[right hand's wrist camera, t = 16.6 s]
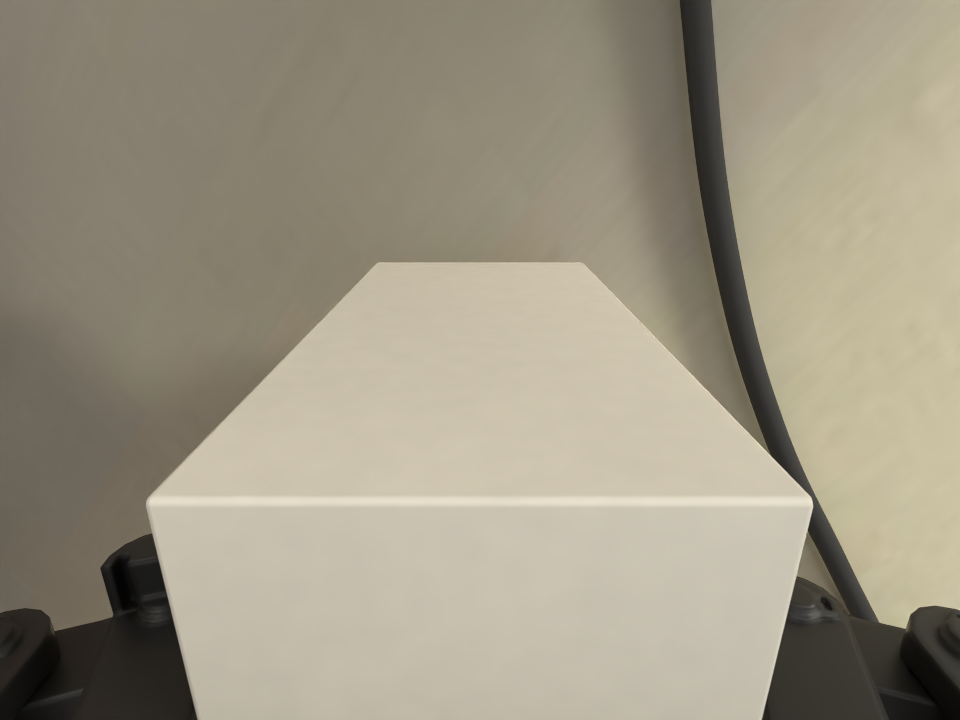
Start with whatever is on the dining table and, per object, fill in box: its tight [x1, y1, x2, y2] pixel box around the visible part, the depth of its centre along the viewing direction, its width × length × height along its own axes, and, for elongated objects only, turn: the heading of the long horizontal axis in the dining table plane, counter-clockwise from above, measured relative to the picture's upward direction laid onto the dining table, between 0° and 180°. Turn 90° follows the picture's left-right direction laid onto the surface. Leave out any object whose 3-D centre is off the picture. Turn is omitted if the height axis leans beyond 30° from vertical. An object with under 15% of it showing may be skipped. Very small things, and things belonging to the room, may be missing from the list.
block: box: [146, 262, 813, 720], centre depth 12 cm, size 8×6×12 cm
